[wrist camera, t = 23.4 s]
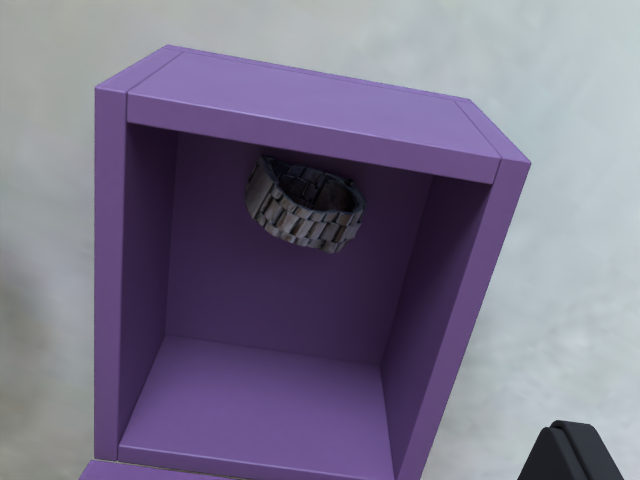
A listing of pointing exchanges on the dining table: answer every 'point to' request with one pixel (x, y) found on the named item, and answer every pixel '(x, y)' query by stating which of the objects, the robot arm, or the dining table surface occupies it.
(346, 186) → the wristwatch
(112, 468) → the lid
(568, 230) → the dining table surface
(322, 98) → the file box
